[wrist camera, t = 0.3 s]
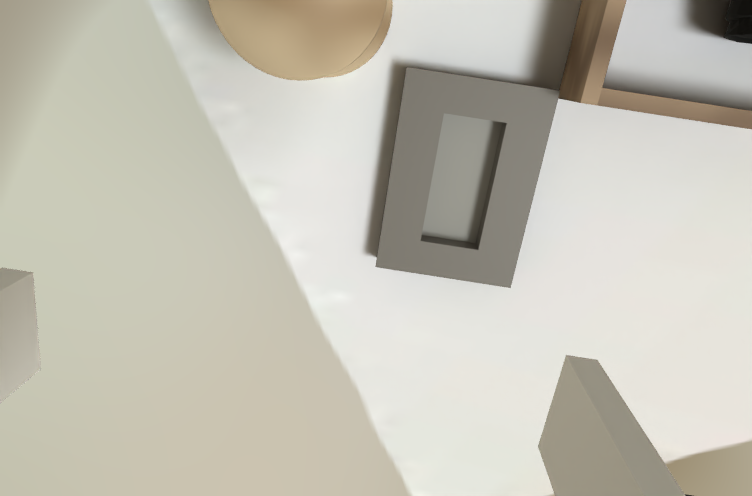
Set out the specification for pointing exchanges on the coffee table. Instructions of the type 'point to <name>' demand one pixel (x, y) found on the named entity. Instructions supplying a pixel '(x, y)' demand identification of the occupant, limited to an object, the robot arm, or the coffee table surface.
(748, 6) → the film camera
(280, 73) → the wooden spool
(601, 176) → the coffee table surface
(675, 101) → the caddy
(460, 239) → the board
